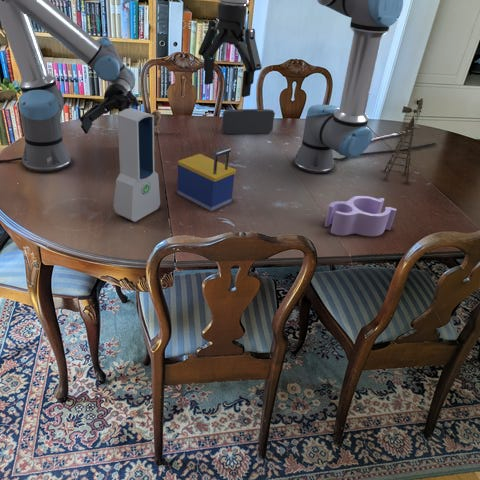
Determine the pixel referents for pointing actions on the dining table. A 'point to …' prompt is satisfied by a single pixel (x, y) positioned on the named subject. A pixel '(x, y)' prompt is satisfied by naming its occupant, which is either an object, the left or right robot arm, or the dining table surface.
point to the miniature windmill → (411, 127)
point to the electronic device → (136, 166)
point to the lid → (209, 165)
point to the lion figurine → (156, 117)
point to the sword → (387, 136)
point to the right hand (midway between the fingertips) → (226, 89)
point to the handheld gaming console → (247, 121)
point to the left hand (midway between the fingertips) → (103, 122)
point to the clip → (359, 216)
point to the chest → (204, 189)
